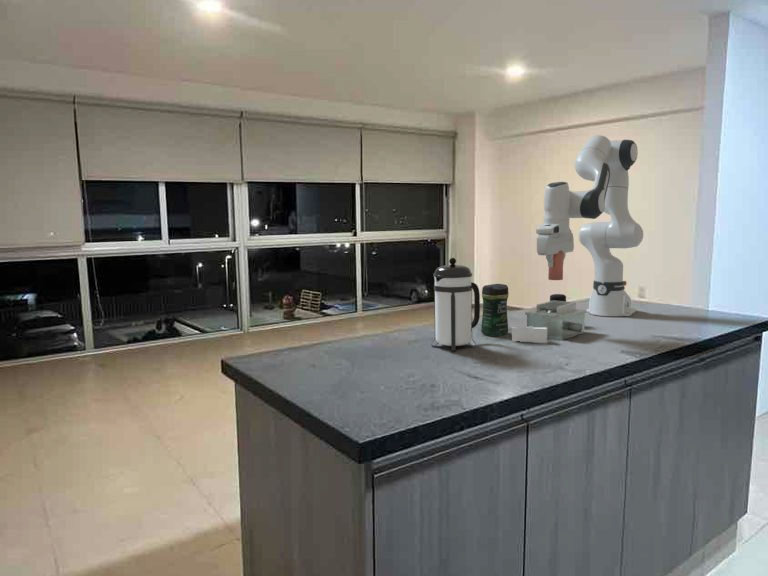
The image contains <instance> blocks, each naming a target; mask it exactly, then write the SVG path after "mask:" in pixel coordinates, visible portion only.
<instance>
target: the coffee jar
mask: <svg viewBox="0 0 768 576" xmlns="http://www.w3.org/2000/svg"><path fill="white" fill-rule="evenodd" d="M481 298H482V316H481V317H482V318H481V328H480V331H481V334H483V335H484V336H487V337H488V336H489V337H490V336H493V337H497V336H503V335H507V334H508V333H509V321H508V299H509V287H508V285H507V284H503V283H494V284H493V283H492V284H486V285H483V287H482V289H481Z"/></svg>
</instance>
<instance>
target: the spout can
mask: <svg viewBox="0 0 768 576" xmlns="http://www.w3.org/2000/svg"><path fill="white" fill-rule="evenodd" d="M553 262H555V264H554V267H548V280H550V281H562V280H563V279H564V263H563V252H562V251H559V252H558V254H553Z"/></svg>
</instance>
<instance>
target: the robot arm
mask: <svg viewBox="0 0 768 576" xmlns="http://www.w3.org/2000/svg"><path fill="white" fill-rule="evenodd" d="M638 152H639V151H638V146H637V144H636V143H635V141H634V140H631V139H623V140H622V139H621V140H620V139H619V140H617V139H616V140H610V139H609V138H608V137H606V136H604V135H601V134H598V135H597V134H596V135H594V136H592V137H590V138H589V139H588V140H587V142H586V143H585V144H584V145H583V146H582V148H581V149H580V151H579V153H578V154H577V156H576V158H575V160H574V169H575V172H576V174H577V175H578V176H579V177H580V178H582V179H583V180H586V181H590V182H593V186H592V188H591V189H589V190H583V191H582V190H578V191H571V190H570V187H569V183H568V182H565V181H556V182H550V183H548V184H547V185H546V186H545V190H544V195H543V197H544V198H543V209H544V216H543V223H541V225H539V226H537V228H536V229H535V232H536V253H537V255H538V256H545V259H546V260H547V267H548V268H549V267H554V264H555V262H553V254H558V252H559V251H562V252H563V264H564V263H565V262H564V261H565V259H566V253H573V252H574V250H575V246H574V245H575V244H574V233H573V232H572V230H571V228H570V219H591V220H592V219H593V220H594V219H598V218H599V217H600V216H601V215H603V213H605V214H607V215H609V216H610V217H611V218H610V220H611V221H594V222H588V223H584V224H582V226H581V227H580V229H579V231H578V235H577V236H578V241H579V242H580V244H581V245H582V246H583V247H584V248H585V249H587V251H588V252H589V254H590V255H591V257H592V260H593V263H594V264H593V265H594V280H593V283H592V285H593V286H592V288H593V290H592V291H591V292H590V293H589V294H590V295H589V303H588V308H586V313H589V314H591V315H593V316H600V317H601V316H602V317H631V316H632V315H633V314H635V313H636V312H637V308H635V307H632V298H631V297H630V295H629V294H628V293H627V292H626V290H625V289H626V288H625V286H627V280H624V264H623V263H624V262H622V260H621V259H620V258H618V257H616V256H614V255H613V254H612V252H611V249H629V248H630V249H631V248H637V247H638V246H640V244H641V243H642V241H643V239H644V230H643V228H642V226H641V225H640V224H639V223H637V222H636V220H634V219H633V217H632V216H631V213H630V210H629V206H628V205H629V203H628V202H629V201H628V199H629V187H630V186H629V185H630V183H629V180H630V178H629V170H630V169H631V167H632V166H633V165H634V164H635V163H636V161H637V159H638V154H639V153H638Z"/></svg>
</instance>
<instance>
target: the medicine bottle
mask: <svg viewBox="0 0 768 576" xmlns="http://www.w3.org/2000/svg"><path fill="white" fill-rule="evenodd" d="M553 300H555V301H565V302H567V296H566V294H561V293H555V294H551V295H549V301H553Z"/></svg>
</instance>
